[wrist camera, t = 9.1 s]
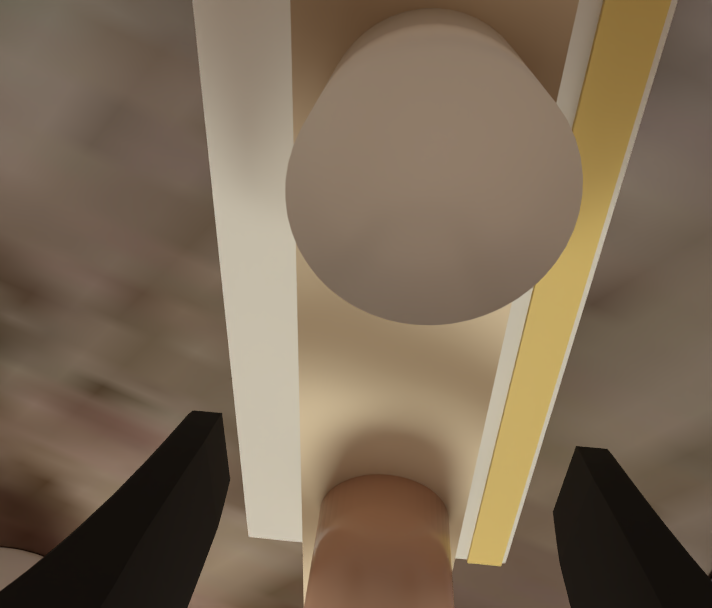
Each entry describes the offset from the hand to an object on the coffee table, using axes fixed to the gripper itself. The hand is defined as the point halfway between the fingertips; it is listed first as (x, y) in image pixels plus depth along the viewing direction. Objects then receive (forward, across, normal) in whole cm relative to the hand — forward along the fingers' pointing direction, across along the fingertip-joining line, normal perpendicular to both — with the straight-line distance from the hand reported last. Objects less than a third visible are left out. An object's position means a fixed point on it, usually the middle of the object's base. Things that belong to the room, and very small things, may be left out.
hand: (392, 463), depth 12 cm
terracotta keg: (+3, 0, +6) cm, 7 cm away
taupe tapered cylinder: (+3, 0, -6) cm, 7 cm away
